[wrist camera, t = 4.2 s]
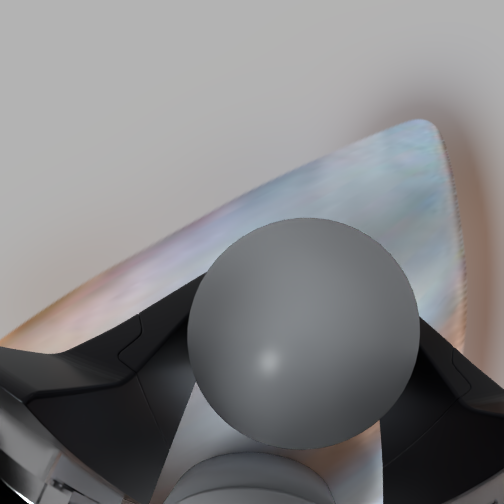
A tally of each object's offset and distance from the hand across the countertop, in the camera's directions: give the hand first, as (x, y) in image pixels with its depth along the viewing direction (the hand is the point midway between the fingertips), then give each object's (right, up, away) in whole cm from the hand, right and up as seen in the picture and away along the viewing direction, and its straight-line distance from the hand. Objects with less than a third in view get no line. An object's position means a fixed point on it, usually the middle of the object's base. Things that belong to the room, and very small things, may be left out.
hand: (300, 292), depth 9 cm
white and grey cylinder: (0, -3, +6) cm, 7 cm away
